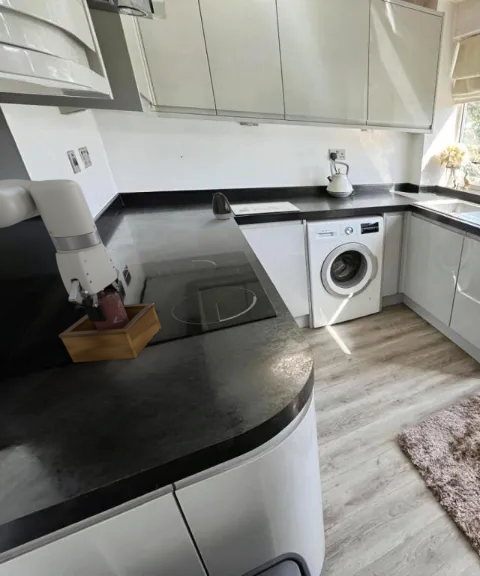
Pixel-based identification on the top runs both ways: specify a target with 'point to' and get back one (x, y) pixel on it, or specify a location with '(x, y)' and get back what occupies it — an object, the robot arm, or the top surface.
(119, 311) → the can
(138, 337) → the wooden open box
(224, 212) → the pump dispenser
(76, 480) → the top surface
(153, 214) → the top surface
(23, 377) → the top surface
